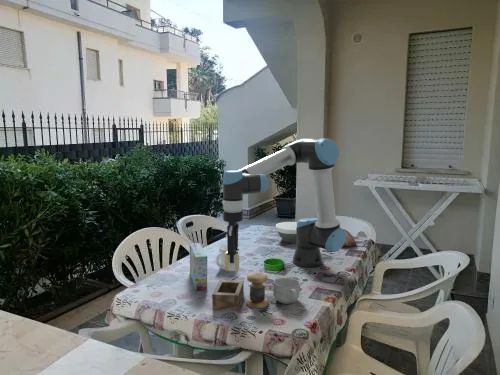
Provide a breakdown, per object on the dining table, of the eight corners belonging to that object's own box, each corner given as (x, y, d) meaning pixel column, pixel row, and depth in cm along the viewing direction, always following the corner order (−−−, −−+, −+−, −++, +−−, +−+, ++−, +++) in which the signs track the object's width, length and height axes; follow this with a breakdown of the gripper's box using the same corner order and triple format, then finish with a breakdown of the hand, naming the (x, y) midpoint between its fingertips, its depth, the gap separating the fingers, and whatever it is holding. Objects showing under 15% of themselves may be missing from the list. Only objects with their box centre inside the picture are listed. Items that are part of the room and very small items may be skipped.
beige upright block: (239, 268, 146) (239, 246, 145) (237, 271, 143) (238, 249, 142) (226, 267, 146) (226, 246, 145) (225, 270, 143) (225, 248, 142)
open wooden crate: (243, 294, 152) (243, 280, 151) (238, 310, 138) (238, 295, 137) (220, 293, 153) (219, 279, 152) (212, 309, 139) (212, 294, 138)
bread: (328, 239, 234) (328, 224, 233) (358, 244, 224) (359, 228, 223) (318, 244, 220) (319, 228, 220) (351, 249, 210) (351, 232, 209)
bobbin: (269, 298, 148) (269, 272, 146) (267, 309, 139) (267, 281, 137) (247, 297, 149) (247, 271, 147) (244, 307, 140) (244, 280, 139)
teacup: (271, 295, 151) (271, 276, 150) (297, 294, 152) (297, 275, 151) (276, 311, 138) (276, 291, 136) (305, 310, 138) (305, 290, 137)
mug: (222, 273, 175) (222, 253, 173) (210, 269, 180) (210, 249, 179) (239, 266, 184) (239, 247, 182) (227, 263, 189) (227, 243, 188)
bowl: (309, 245, 219) (309, 229, 218) (276, 245, 219) (276, 229, 218) (304, 236, 238) (304, 221, 237) (274, 236, 239) (274, 221, 237)
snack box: (208, 289, 157) (207, 256, 155) (195, 291, 155) (194, 257, 153) (201, 272, 177) (200, 242, 175) (189, 273, 176) (188, 243, 173)
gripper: (227, 206, 150) (227, 261, 153) (219, 214, 134) (219, 275, 137) (245, 206, 149) (245, 262, 152) (239, 215, 133) (239, 276, 136)
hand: (232, 268), depth 145 cm, fingers closed on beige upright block, 3 cm apart
